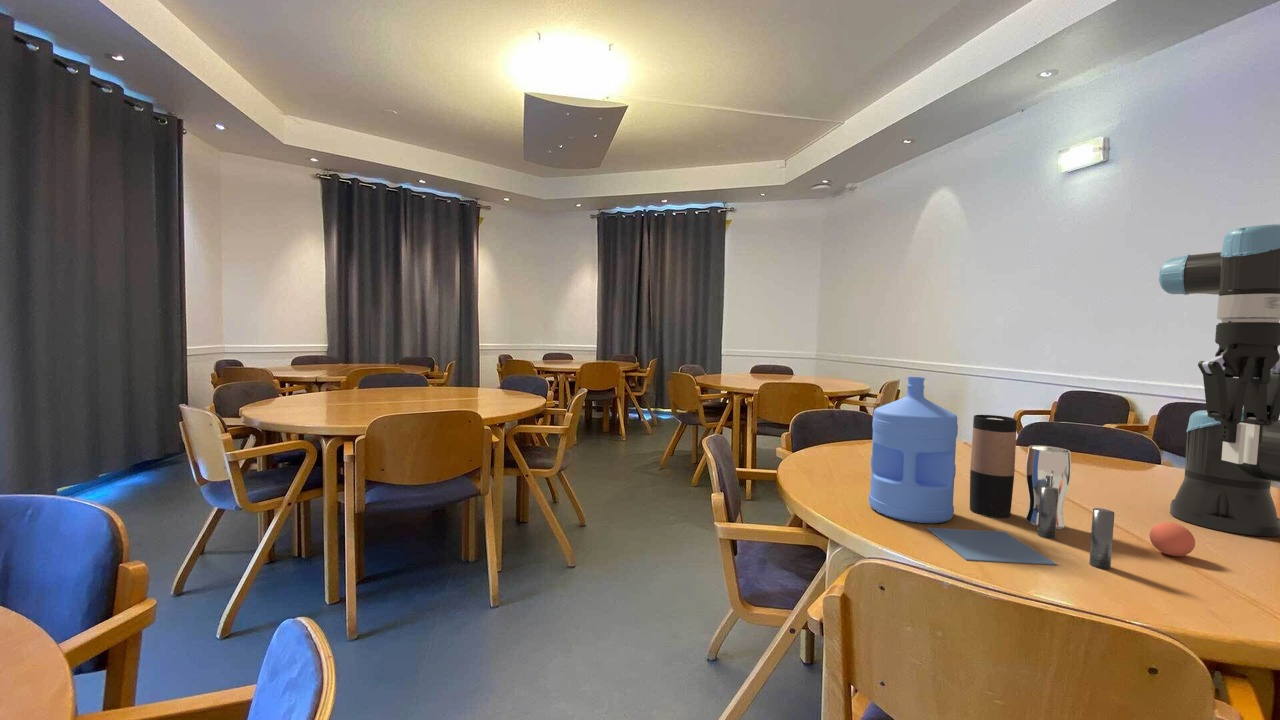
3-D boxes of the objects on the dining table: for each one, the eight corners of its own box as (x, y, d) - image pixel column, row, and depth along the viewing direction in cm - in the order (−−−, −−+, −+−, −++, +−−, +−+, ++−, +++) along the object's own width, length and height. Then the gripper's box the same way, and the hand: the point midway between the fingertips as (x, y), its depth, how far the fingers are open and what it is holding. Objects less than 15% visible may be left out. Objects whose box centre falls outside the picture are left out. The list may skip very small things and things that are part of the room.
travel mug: (959, 507, 113) (964, 415, 112) (986, 505, 115) (991, 414, 114) (992, 520, 106) (998, 421, 105) (1021, 516, 108) (1026, 419, 107)
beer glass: (1023, 515, 109) (1028, 443, 108) (1067, 523, 105) (1072, 448, 104) (1021, 524, 104) (1025, 448, 103) (1067, 533, 99) (1072, 454, 98)
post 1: (1048, 533, 99) (1051, 486, 98) (1058, 539, 96) (1061, 490, 96) (1034, 532, 99) (1037, 485, 99) (1043, 538, 97) (1046, 489, 96)
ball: (1173, 549, 93) (1175, 518, 92) (1203, 562, 87) (1206, 530, 87) (1139, 547, 93) (1141, 516, 93) (1168, 560, 88) (1170, 528, 87)
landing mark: (1004, 532, 99) (1004, 531, 99) (1057, 565, 85) (1057, 563, 85) (926, 528, 100) (926, 527, 100) (966, 560, 86) (966, 559, 86)
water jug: (873, 495, 121) (879, 373, 119) (953, 508, 113) (960, 377, 111) (863, 514, 107) (869, 377, 106) (953, 531, 99) (961, 382, 98)
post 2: (1102, 562, 86) (1105, 508, 86) (1115, 569, 84) (1118, 513, 83) (1085, 561, 87) (1088, 507, 86) (1097, 568, 84) (1101, 513, 84)
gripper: (1226, 319, 84) (1214, 466, 85) (1325, 321, 83) (1312, 469, 84) (1181, 321, 92) (1171, 455, 93) (1272, 322, 91) (1261, 458, 92)
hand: (1238, 462), depth 89 cm, fingers closed
